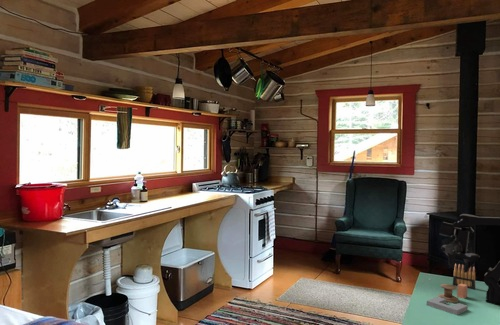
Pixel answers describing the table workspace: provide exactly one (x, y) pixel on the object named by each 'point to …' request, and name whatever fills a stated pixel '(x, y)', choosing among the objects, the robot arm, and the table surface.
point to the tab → (462, 290)
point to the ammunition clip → (464, 277)
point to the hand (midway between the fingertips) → (457, 269)
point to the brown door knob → (448, 293)
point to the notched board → (447, 306)
